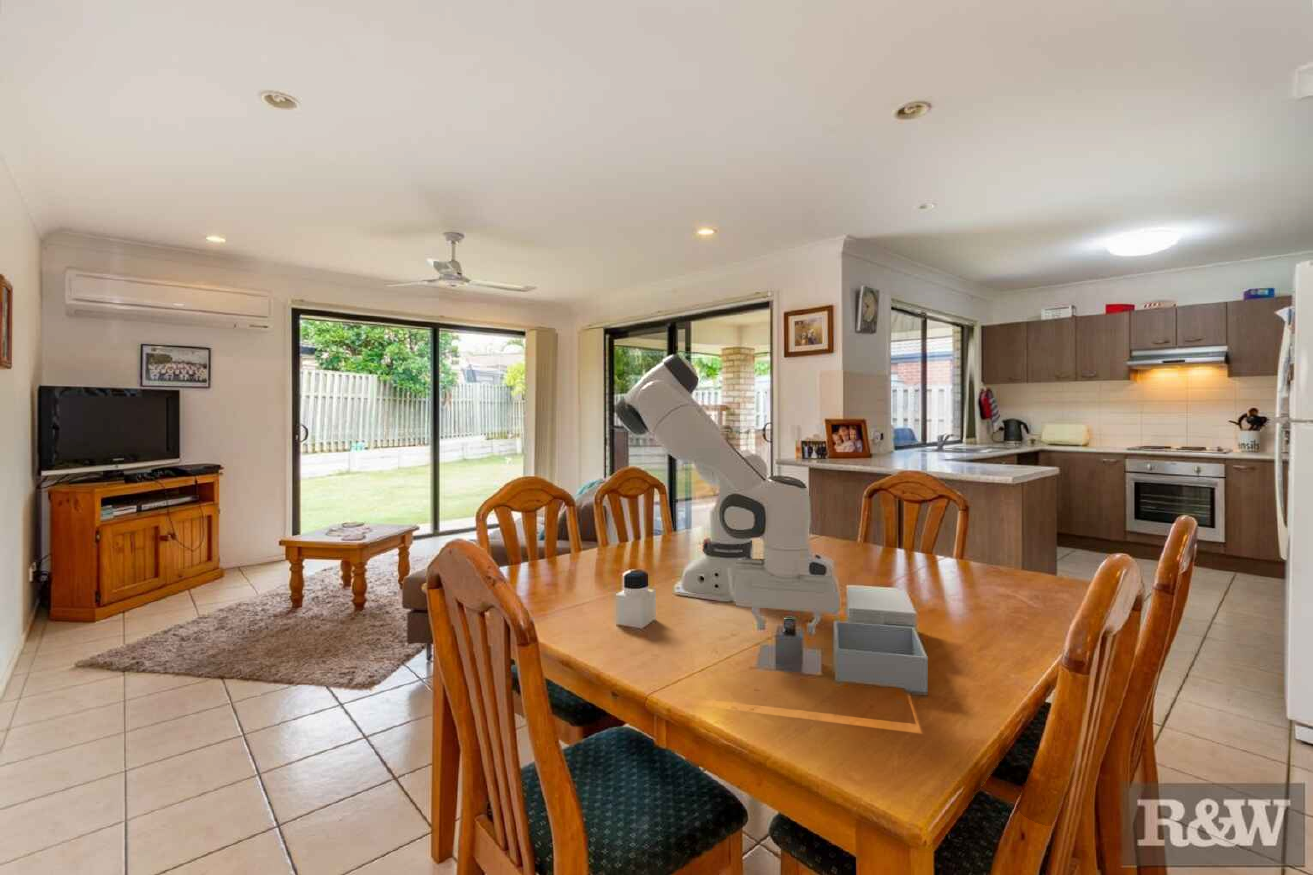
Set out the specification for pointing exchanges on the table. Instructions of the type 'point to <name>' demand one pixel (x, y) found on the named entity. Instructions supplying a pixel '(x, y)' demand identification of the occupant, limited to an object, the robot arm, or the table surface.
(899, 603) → the supplement box
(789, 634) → the strut socket
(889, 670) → the bin
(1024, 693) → the table surface
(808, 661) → the stud base
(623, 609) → the medicine bottle
